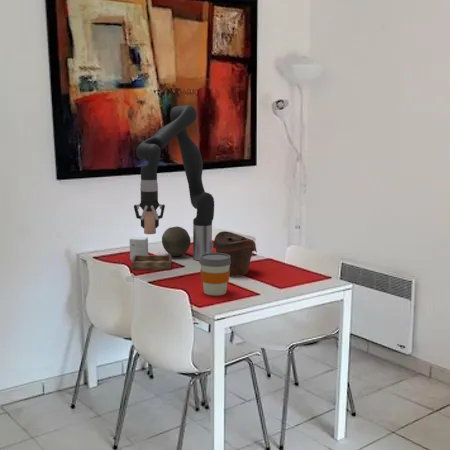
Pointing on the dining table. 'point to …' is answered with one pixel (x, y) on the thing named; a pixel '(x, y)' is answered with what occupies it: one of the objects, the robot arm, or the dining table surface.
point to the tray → (151, 262)
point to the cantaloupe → (176, 241)
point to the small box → (138, 246)
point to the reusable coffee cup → (215, 272)
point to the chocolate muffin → (235, 251)
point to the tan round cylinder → (149, 223)
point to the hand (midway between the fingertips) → (149, 227)
